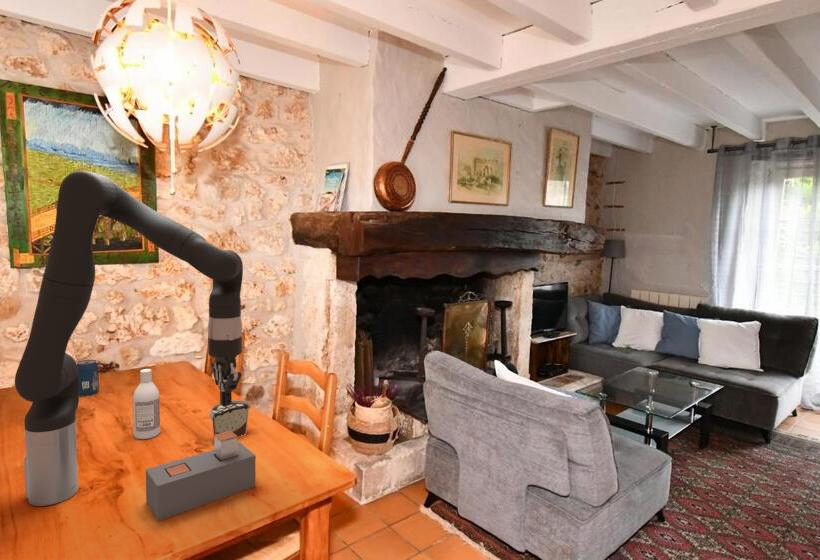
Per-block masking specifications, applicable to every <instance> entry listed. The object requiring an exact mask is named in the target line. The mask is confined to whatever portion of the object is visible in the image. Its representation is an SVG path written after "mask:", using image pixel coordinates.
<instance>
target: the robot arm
mask: <svg viewBox="0 0 820 560" xmlns="http://www.w3.org/2000/svg"><path fill="white" fill-rule="evenodd" d="M57 196H58V197H57V202H56V204H57V205H56V206H57V207H56V215H55V223H54V231H53V236H52V238H51V239H52V240H51V243H50V247H49V250H48V251H49V252H48V256H47V261H46V265H45V268H44V271H43V274H42V275H43V276H42V278H41V284H40V288H39V291H38V297H37V298H38V299H37V303H36V307H35V311H34V315H33V319H32V325H31V329H30V333H29V336H28V340H27V343H26V346H25V347H24V348H25V349H24V351H23V354H22V357H21V358H20V362H19V364H18V367H17V369H16V372H15V375H14V376H15V377H14V387H15V389H16V392H17V393H18V395H19V396H20V397H21V398H22V399H23V400H25V401H27V402H30V403H31V406H30V408H29V410H28V411H27V413H26V414H25V416H24V420H23V421H24V423H23V425H24V440H25V457H24V459H23V466H24V482H25V483H24V484H25V485H24V486H25V487H24V488H25V489H24V490H25V499H26V498H27V501H28V503H29V504H30V505H31V506H35V507H44V506H51V505H56V504H59V503H62V502H64V501H67V500H69V499H70V498H72V497H73V496H74V495H76V493H77V492H78V490H79V479H78V477H79V476H78V473H79V472H78V449H77V427H76V426H77V423H76V416H77V415H76V414H77V410H78V407H79V403H80V396H79V371H78V366H77V362H76V360H75V359H74V358H73V356H71V355H70V354H68V353H66V351H67V347H68V344H69V341H70V339H71V337H72V335H73V334H74V332H75V330H76V328H77V326H78V325H79V323H80V322H81V320H82V317H83V316H84V314H85V312H86V310H87V309H88V306H89V303H90V300H91V296H92V292H93V288H94V284H95V281H96V265H95V264H96V263H95V257H94V251H93V238H94V234H95V230H96V226H97V223H98V219H99V217H100V216H103V217H106V218H108V219H111V220H112V221H113V220H114V221H116V222H119V223H121V224H123V225H126V226H127V227H130V228H131V229H132V230H134V231H136V232H137V233H138V234H140V235H142V237H144V238H145V239H146V240H148V241H149V242H150V243H152V244H153V245H155V247H158V248H159V249H160V250H162V251H164V252H167V253H168V254H169V255H171V256H174V257H176V258H177V259H180V260H181V261H183V262H185V263H186V264H188V265H190V266H191V267H192V268H193V269H195V270H196V271H198V272H199V273H201V274H203V275H204V276H206V277H207V278H209V279H211V280H212V289H211V293H210V294H209V298H208V323H207V347H208V348H207V350H208V351H207V354H208V355H209V356H210V357H212V358H214V361H213V362H210V367H211V370H212V374H213V377H214V379H213V380H214V382H215V385H216V386H217V387H218V391H219V403H220V404H221V405H222V406H223V407H225V406H229V405H231V403H232V401H233V399H232V391H234V390H236V389H237V387H238V385H239V382H240V381H241V378H242V372H241V371H239V372H237V370H238V369H237V368H238V367H237V365H238V364H237V359H236V357H238V356H240V355H241V354H242V352H243V324H242V305H241V304H242V301H241V290H242V284H243V273H244V272H243V271H244V267H243V266H244V265H243V261H242V258H241V256H240V255H239V254H238V253H237V252H235V251H233V250H230V249H225V250H224V249H221V248H220V247H217V246H215V245H214V244H212V243H209V242H208V241H206V239H205V237H203V236H202V235H201V234H199V233H197V232H195V231H194V230H192V229H190V228H188V227H187V226H185V225H183V224H181V223H179V222H177V221H176V220H174V219H172V218H169V217H168V216H166V215H164V214H162V213H161V212H158V211H157V210H154V209H153V208H151V207H150V206H148V205H146V204H145V203H143V202H141V201H140V200H139V199H137V198H135V196H133V194H130V193H129V192H128V191H126V190H125V189H124V188H122V187H121V186H120V185H119V184H117V183H116V182H115V181H114V180H112V179H111V178H110V177H108V176H106V175H104V174H100V173H97V172H91V171H87V170H76V171H75V170H74V171H73V172H70V173H69V174H68V175H66V176H65V177H64V178H63V180H62V181H61V184H60V185H59V190H58V195H57Z"/></svg>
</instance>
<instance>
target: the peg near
mask: <svg viewBox="0 0 820 560" xmlns="http://www.w3.org/2000/svg"><path fill="white" fill-rule="evenodd" d="M188 471H190V470H189V469H188V467H187V466H186V465H185V464H181V465H178V466H174V467H171V468H167V469H166V472H167V473H168V475H169V476H170V477H172V476H175V475H178V474H182V473H185V472H188Z"/></svg>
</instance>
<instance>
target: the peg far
mask: <svg viewBox="0 0 820 560" xmlns="http://www.w3.org/2000/svg"><path fill="white" fill-rule="evenodd" d="M213 438H214V439H213V440H214V450H215V457H216V458H217V459H218V460H219V461H220V462H221V461H224V460H228V459H231V458H234V457H237V443H238V438H237V435H235V434H234V433H233V432H232V431H227V432H223V433H220V434H216V435H214V434H213Z"/></svg>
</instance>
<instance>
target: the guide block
mask: <svg viewBox="0 0 820 560" xmlns="http://www.w3.org/2000/svg"><path fill="white" fill-rule="evenodd" d="M256 460H257V459H256V454H254V452H252V451H251V450H250V449H249V448H248V447H247V446H245V445H244V444H243V443H241V442H237V457H234V458H231V459H228V460H224V461H221V462H220V461H219V460H218V459H217V458H216V457H215V449H211V450H209V451H205V452H201V453H198V454H194V455H191V456H188V457H184V458H180V459H176V460H174V461H171V462H167V463H163V464H159V465H157V466H152V467H149V468H146V469H145V495H146V496H145V501H146V502H145V503H146V504H147V506H148V507H149V509H150V511H151V512H152V515H153V516H154V518H155V520H156V521H157V522H160V521H162V520H165V519H167V518H171V517H173V516H177V515H179V514H182V513H185V512H188V511H190V510H194V509H197V508H199V507H201V506H204V505H208V504H210V503H213V502H215V501H218V500H220V499H225V498H227V497H229V496H232V495H235V494H238V493H240V492H243V491H247V490H249V489H252V488H254V487H256V463H257V462H256ZM181 464H185V465H186V466H187V467H188V469H189V470H190V471H188V472H185V473H182V474H178V475H175V476H172V477H170V476H169V475H168V473H167V472H166V469H167V468H171V467H174V466H178V465H181Z"/></svg>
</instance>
